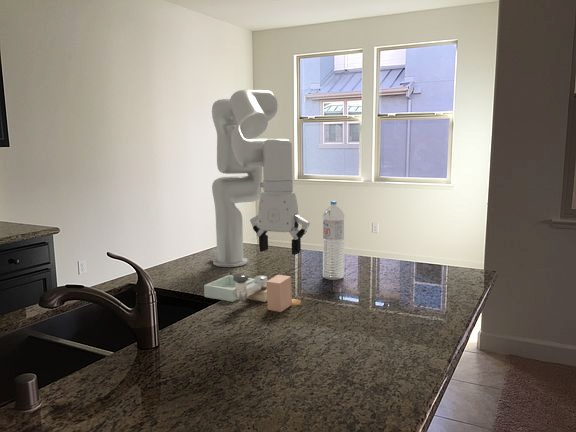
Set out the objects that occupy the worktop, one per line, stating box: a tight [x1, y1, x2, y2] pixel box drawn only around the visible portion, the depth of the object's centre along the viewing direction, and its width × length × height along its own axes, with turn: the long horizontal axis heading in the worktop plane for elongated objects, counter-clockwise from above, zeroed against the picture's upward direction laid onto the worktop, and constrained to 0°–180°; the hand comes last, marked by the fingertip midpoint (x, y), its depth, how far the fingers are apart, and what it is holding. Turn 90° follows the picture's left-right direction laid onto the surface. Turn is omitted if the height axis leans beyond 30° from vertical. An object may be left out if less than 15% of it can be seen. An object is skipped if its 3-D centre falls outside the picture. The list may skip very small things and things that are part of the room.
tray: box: [203, 274, 255, 303], centre depth 144 cm, size 10×12×4 cm
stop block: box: [266, 274, 293, 313], centre depth 131 cm, size 4×6×8 cm, turn 151°
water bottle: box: [322, 200, 345, 281], centre depth 158 cm, size 7×7×25 cm
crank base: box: [246, 288, 302, 307], centre depth 138 cm, size 16×6×3 cm, turn 61°
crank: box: [233, 273, 268, 300], centre depth 135 cm, size 14×4×6 cm, turn 151°
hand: (279, 252), depth 129 cm, fingers open, 9 cm apart
